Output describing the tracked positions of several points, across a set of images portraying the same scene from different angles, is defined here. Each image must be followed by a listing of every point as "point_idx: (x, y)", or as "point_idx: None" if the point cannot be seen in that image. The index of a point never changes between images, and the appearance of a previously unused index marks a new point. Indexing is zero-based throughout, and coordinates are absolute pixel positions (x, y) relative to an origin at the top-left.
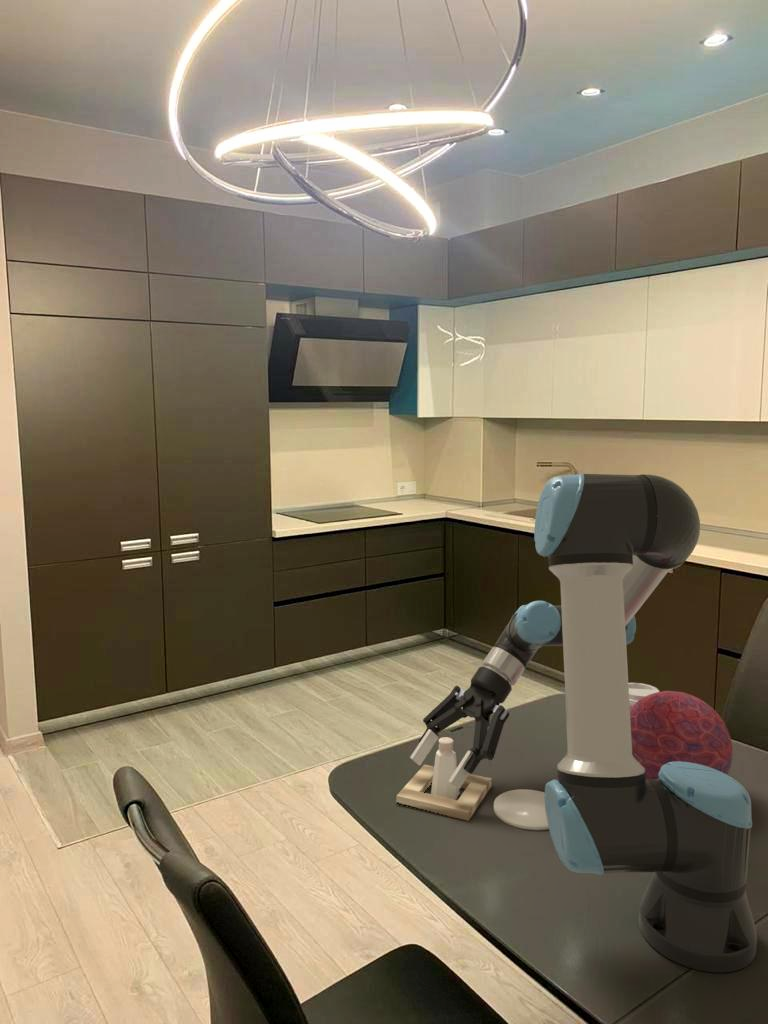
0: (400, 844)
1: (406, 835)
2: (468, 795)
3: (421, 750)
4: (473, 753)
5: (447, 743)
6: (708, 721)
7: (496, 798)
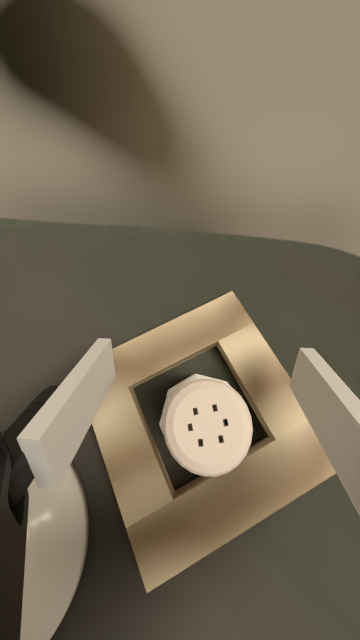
0: (121, 232)
1: (133, 252)
2: (125, 429)
3: (316, 388)
4: (17, 453)
5: (171, 401)
6: None
7: (78, 501)
